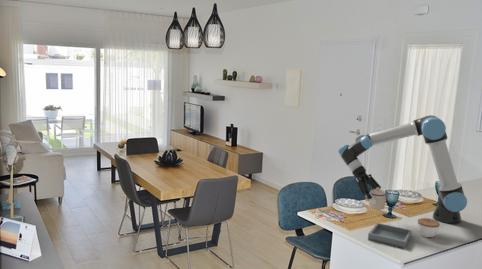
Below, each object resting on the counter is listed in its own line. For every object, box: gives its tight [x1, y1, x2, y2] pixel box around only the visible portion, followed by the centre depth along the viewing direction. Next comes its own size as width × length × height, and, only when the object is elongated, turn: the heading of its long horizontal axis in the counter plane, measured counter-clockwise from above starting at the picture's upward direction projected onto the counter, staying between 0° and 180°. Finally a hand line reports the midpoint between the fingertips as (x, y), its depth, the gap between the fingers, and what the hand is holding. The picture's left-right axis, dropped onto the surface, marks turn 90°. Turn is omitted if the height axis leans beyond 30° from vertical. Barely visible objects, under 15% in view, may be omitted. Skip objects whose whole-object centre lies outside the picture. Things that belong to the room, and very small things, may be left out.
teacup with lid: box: [364, 187, 387, 211], centre depth 236 cm, size 12×9×12 cm
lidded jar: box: [417, 217, 441, 238], centre depth 222 cm, size 11×11×9 cm
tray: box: [367, 222, 413, 249], centre depth 217 cm, size 18×18×4 cm
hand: (379, 201), depth 234 cm, fingers closed on teacup with lid, 9 cm apart
